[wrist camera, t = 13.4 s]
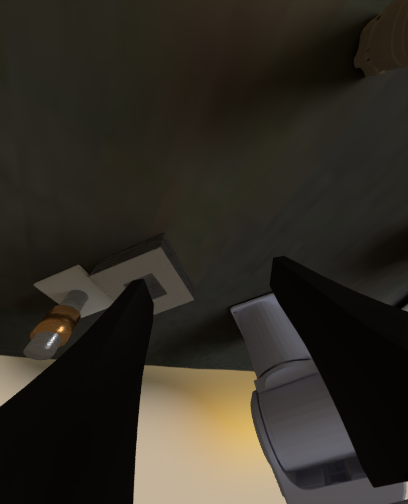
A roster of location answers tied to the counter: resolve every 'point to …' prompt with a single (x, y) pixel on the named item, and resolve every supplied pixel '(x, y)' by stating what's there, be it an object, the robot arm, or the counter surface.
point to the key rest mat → (75, 280)
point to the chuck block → (146, 273)
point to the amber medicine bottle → (56, 326)
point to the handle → (384, 41)
